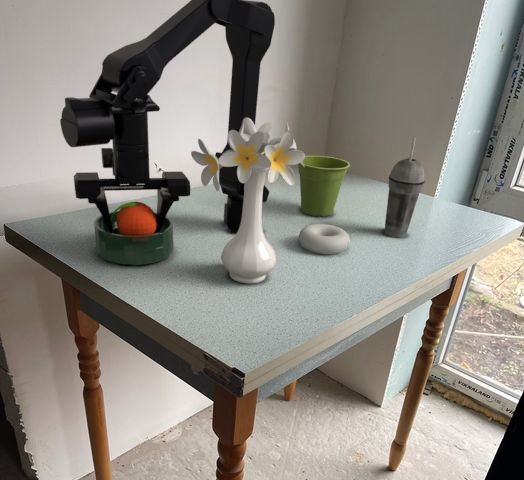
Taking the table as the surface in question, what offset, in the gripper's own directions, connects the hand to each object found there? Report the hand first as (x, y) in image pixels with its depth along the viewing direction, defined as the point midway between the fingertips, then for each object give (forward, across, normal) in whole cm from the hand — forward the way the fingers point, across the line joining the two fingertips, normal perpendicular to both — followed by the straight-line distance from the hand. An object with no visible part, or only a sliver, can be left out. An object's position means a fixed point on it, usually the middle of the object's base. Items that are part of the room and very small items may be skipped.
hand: (135, 233), depth 99 cm
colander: (+4, 0, 0) cm, 4 cm away
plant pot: (+4, -43, -18) cm, 47 cm away
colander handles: (-1, 0, 0) cm, 1 cm away
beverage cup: (+4, -55, -3) cm, 55 cm away
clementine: (+2, 0, 0) cm, 2 cm away
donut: (+4, -36, +2) cm, 36 cm away
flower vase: (+4, -17, +14) cm, 22 cm away
